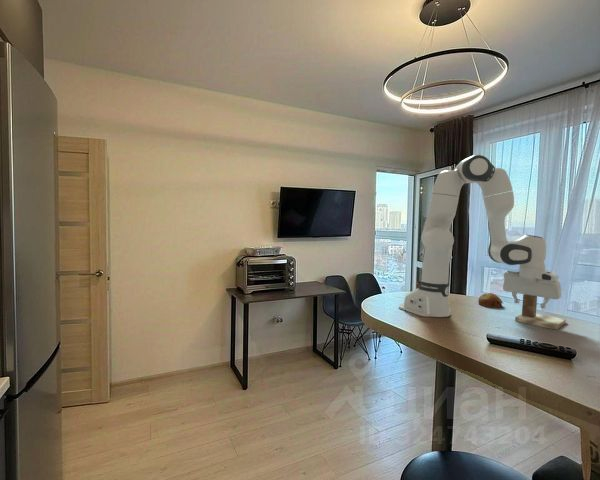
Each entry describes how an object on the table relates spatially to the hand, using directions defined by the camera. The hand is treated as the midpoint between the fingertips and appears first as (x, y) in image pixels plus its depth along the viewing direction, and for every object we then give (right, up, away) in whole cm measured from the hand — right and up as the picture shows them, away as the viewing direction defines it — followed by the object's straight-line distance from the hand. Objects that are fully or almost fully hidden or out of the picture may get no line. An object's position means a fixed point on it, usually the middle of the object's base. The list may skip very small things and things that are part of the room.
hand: (529, 305), depth 138 cm
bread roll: (-3, -5, +23) cm, 24 cm away
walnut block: (0, -5, 0) cm, 5 cm away
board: (+3, -6, -3) cm, 7 cm away
